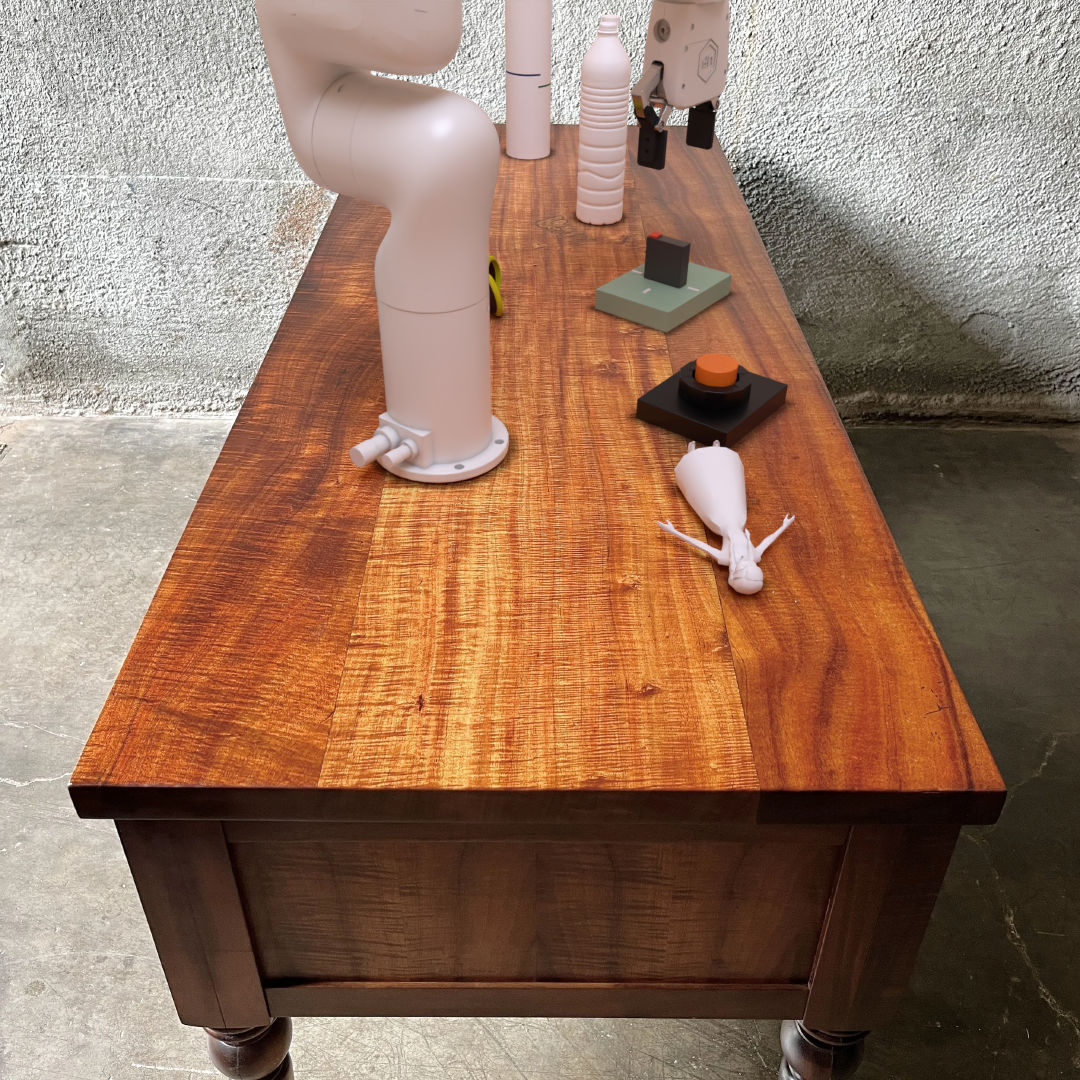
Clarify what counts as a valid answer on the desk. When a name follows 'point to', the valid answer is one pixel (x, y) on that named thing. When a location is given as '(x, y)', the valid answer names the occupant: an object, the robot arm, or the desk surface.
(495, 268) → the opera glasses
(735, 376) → the button
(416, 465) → the robot arm
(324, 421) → the desk surface
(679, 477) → the woman figurine
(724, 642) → the desk surface
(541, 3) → the cylindrical container
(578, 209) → the water bottle
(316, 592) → the desk surface
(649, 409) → the button housing
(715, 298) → the knob panel
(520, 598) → the desk surface
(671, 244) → the knob
